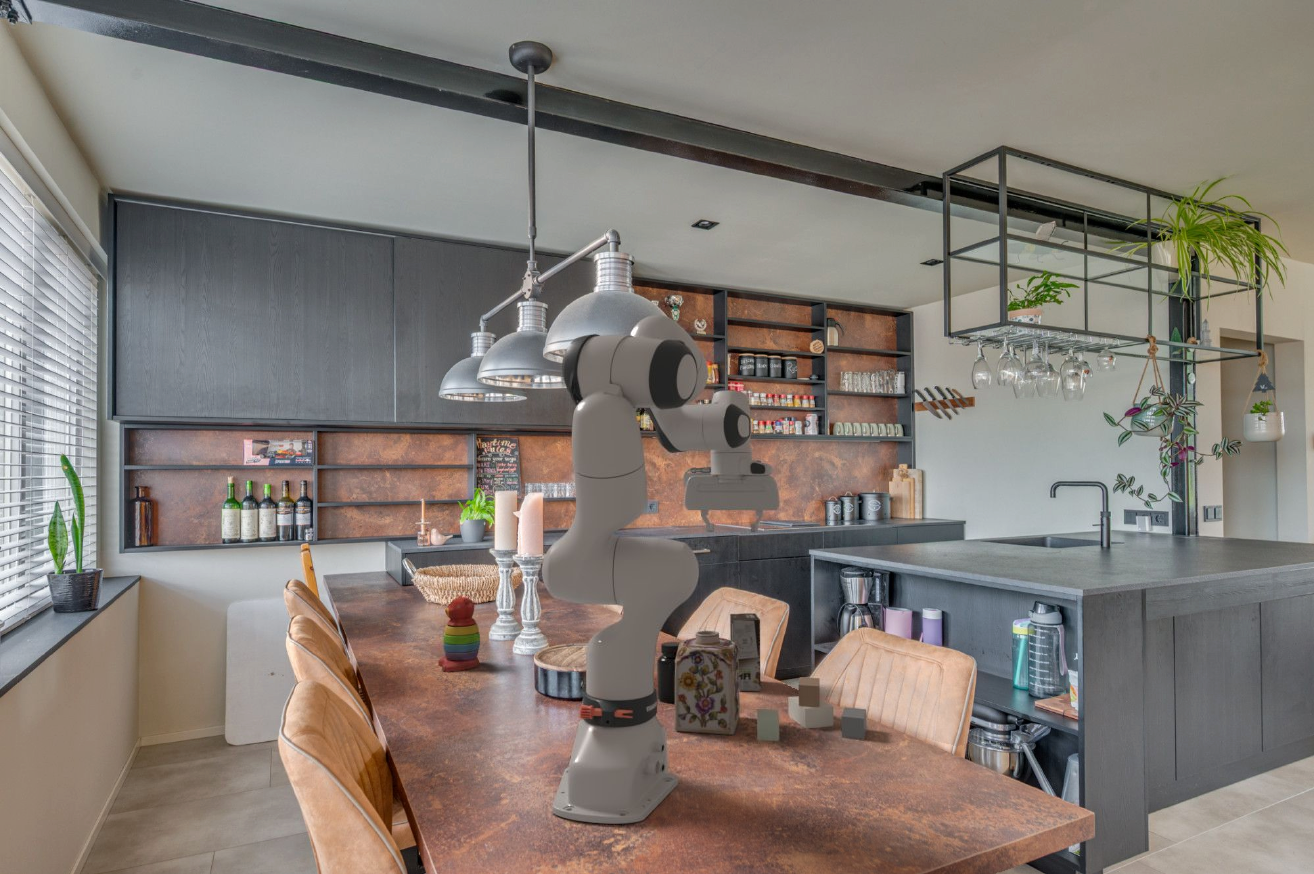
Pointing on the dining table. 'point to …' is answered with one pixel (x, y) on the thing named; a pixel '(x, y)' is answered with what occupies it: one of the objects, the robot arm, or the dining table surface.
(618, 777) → the robot arm
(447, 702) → the dining table surface
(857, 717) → the grey brick
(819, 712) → the cream block
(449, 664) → the stacking bear
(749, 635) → the coffee box
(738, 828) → the dining table surface
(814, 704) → the walnut brick
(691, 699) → the decorative jar
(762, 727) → the sage brick
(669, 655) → the supplement bottle
